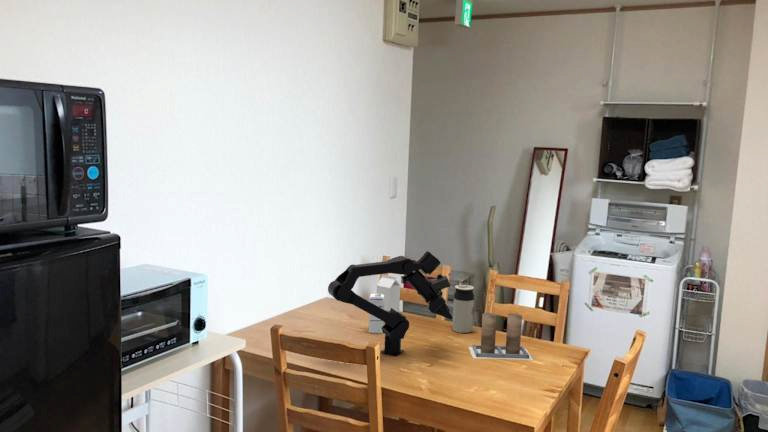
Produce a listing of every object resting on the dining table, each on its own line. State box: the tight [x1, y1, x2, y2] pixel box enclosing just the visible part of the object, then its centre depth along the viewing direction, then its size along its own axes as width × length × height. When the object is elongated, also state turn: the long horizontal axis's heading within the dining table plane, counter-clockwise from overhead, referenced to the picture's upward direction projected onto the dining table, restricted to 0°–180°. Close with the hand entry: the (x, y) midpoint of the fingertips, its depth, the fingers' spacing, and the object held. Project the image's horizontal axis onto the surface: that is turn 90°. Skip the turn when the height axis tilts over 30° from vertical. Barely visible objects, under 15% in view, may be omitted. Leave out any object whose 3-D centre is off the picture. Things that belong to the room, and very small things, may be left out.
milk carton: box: [375, 274, 401, 312], centre depth 267 cm, size 7×7×19 cm
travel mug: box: [452, 284, 475, 334], centre depth 255 cm, size 8×8×18 cm
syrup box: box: [368, 293, 385, 334], centre depth 251 cm, size 6×6×14 cm
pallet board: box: [468, 344, 534, 361], centre depth 227 cm, size 21×12×2 cm, turn 90°
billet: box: [480, 312, 497, 354], centre depth 226 cm, size 5×5×14 cm
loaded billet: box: [505, 313, 523, 354], centre depth 226 cm, size 5×5×14 cm
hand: (450, 315), depth 228 cm, fingers open, 9 cm apart
